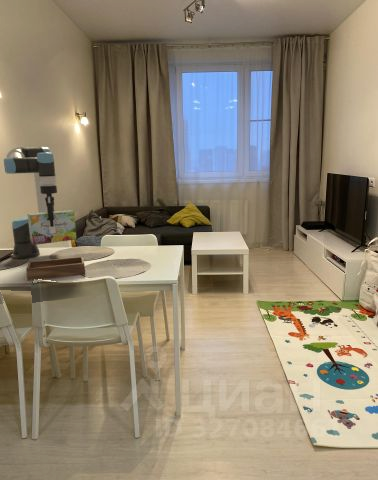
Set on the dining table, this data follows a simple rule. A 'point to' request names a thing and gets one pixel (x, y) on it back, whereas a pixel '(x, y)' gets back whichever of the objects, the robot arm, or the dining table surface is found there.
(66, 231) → the snack box
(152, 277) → the dining table surface
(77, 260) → the dark brown wooden tray
